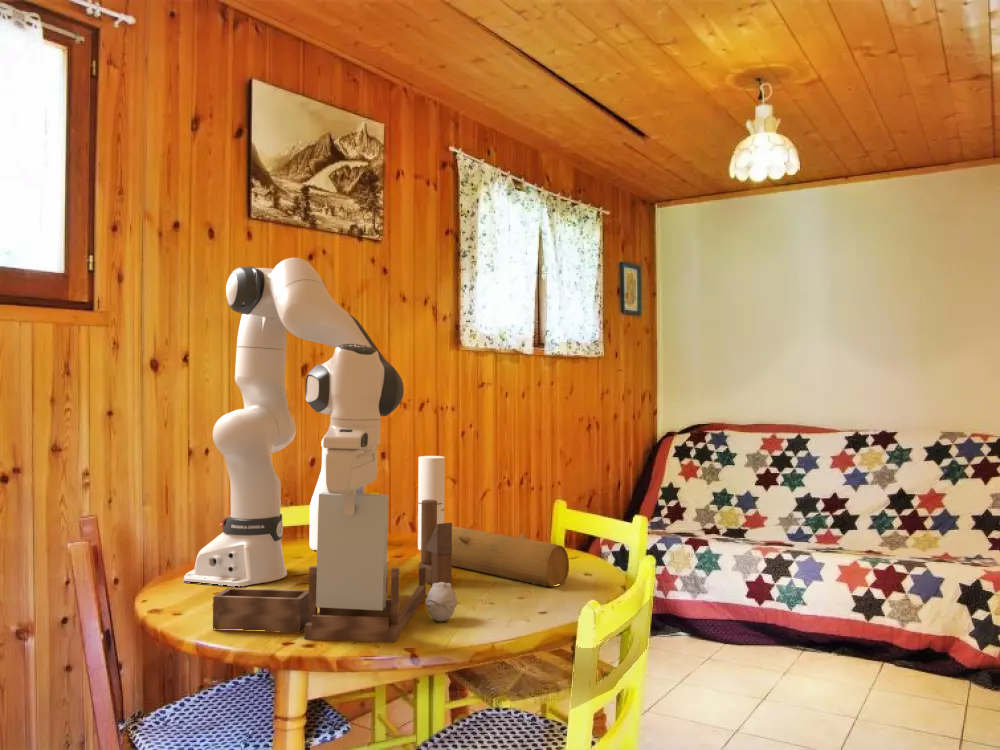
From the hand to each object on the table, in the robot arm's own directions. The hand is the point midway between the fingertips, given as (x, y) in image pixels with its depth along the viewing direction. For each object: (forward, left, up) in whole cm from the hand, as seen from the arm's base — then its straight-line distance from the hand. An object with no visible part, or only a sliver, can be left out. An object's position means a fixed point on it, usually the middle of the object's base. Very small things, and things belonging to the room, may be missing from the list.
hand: (353, 512), depth 136 cm
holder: (-18, +3, -22) cm, 28 cm away
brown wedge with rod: (+8, +38, -22) cm, 45 cm away
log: (+20, +49, -22) cm, 57 cm away
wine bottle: (-27, +70, -22) cm, 78 cm away
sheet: (0, 0, -17) cm, 17 cm away
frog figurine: (+14, +10, -22) cm, 28 cm away
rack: (0, +11, -22) cm, 25 cm away
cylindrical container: (+1, +73, -22) cm, 77 cm away
